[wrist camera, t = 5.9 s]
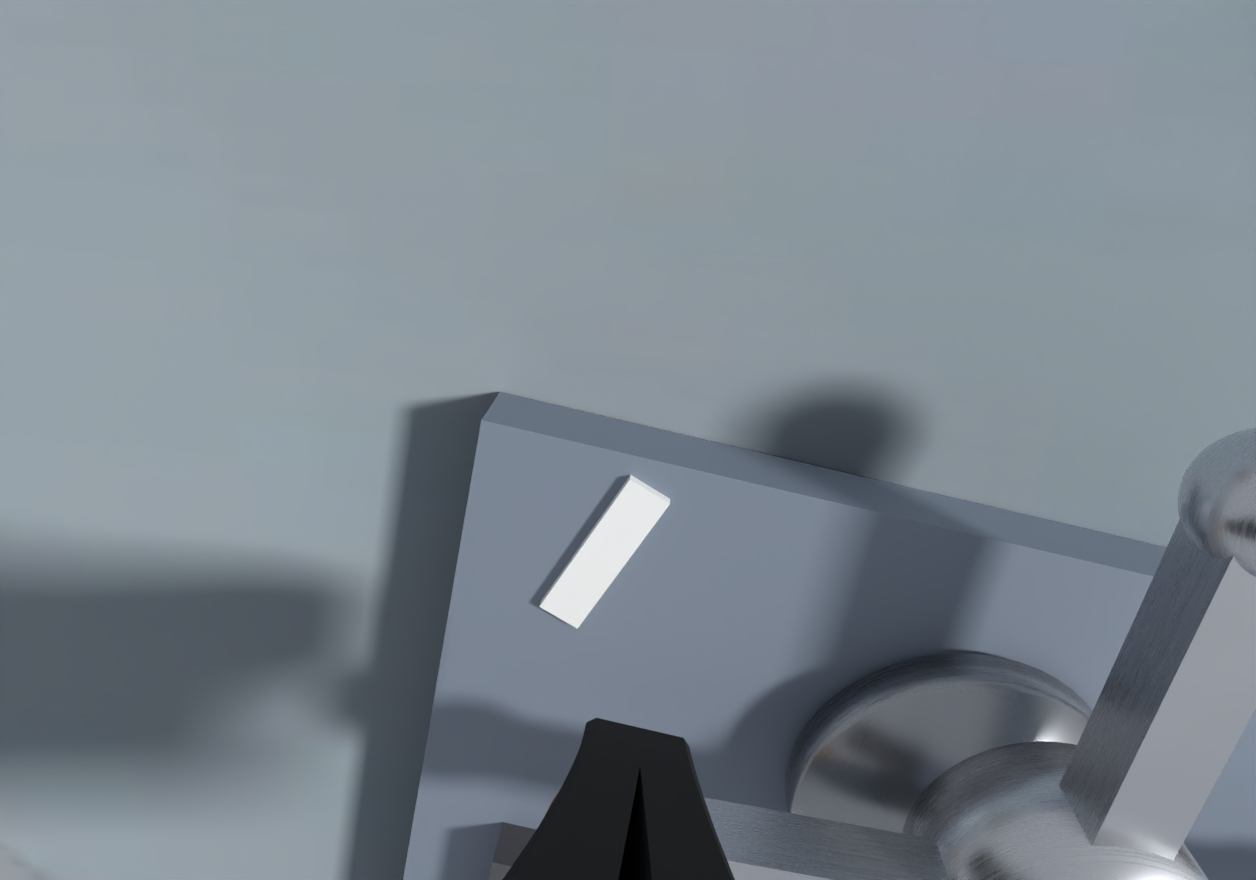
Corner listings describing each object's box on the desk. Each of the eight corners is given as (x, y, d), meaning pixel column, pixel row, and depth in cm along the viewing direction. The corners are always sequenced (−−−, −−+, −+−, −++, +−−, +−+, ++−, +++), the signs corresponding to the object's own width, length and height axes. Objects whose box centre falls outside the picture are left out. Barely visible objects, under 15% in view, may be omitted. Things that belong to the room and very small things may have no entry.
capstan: (1743, 472, 13) (2104, 599, 10) (1257, 1156, 19) (1376, 1375, 16) (641, 272, 13) (625, 330, 10) (511, 1020, 19) (474, 1211, 16)
